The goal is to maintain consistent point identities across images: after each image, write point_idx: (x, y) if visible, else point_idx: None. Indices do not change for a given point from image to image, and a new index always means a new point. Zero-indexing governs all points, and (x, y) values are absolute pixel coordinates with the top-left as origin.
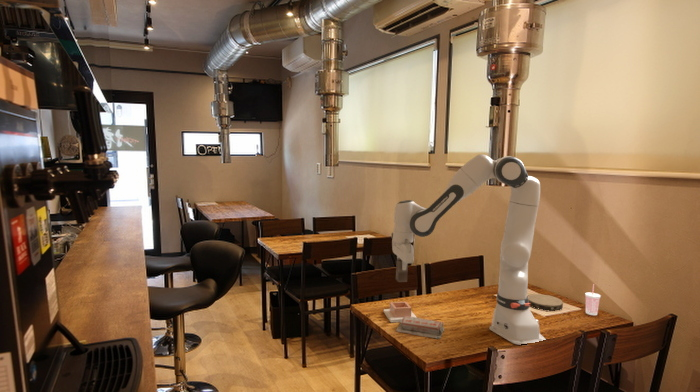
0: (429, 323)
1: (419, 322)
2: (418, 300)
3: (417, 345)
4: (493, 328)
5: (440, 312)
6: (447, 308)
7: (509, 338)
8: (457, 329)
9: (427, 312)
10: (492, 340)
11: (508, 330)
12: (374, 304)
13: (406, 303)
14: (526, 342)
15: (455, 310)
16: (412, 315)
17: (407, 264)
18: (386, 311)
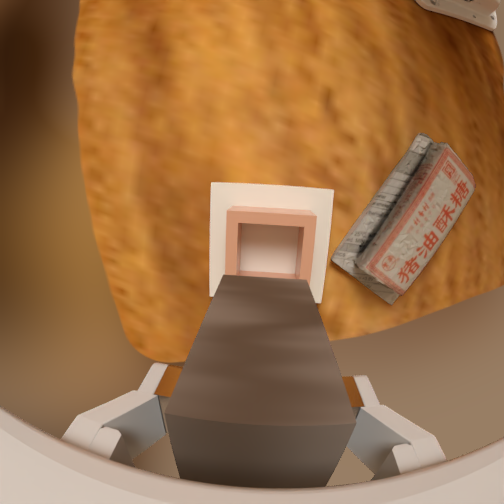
0: (451, 202)
1: (434, 235)
2: (114, 106)
3: (474, 270)
4: (430, 2)
5: (260, 58)
6: (223, 21)
7: (484, 23)
8: (421, 87)
9: (249, 108)
10: (480, 54)
11: (471, 3)
12: (134, 298)
13: (254, 218)
14: (495, 13)
15: (250, 3)
16: (300, 199)
17: (342, 393)
18: None
